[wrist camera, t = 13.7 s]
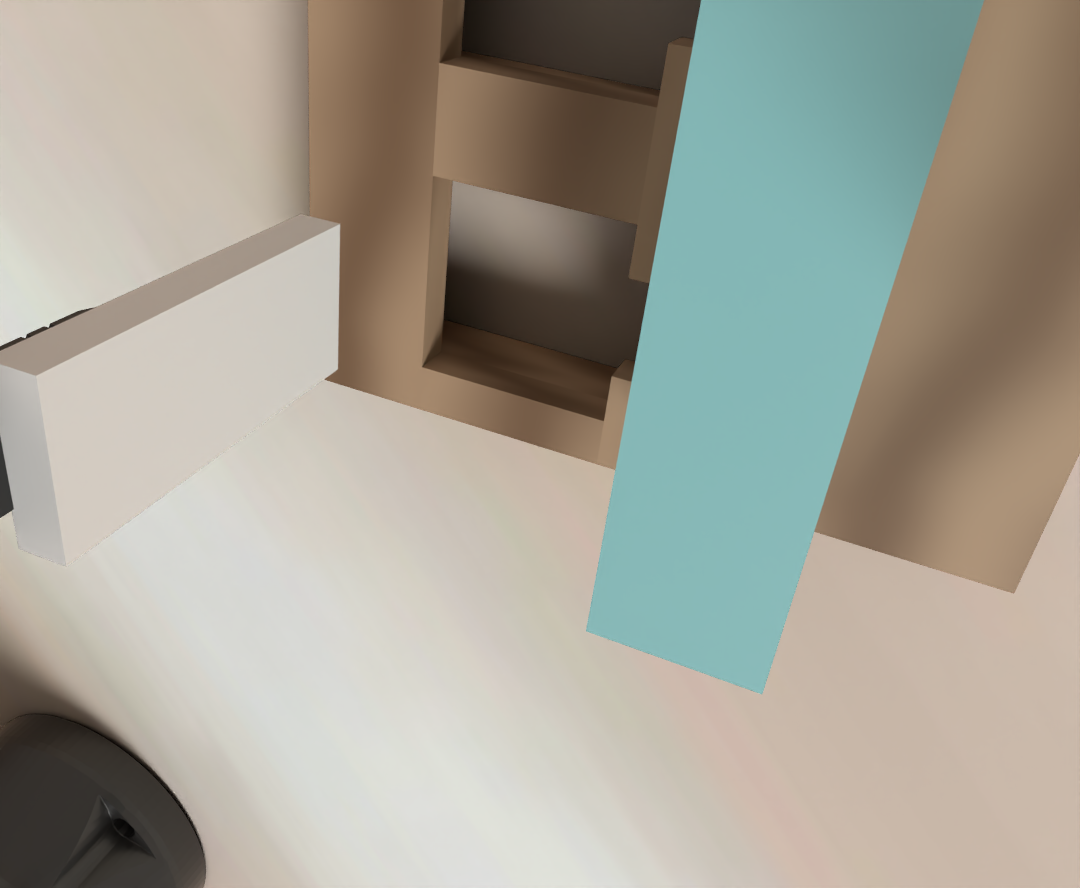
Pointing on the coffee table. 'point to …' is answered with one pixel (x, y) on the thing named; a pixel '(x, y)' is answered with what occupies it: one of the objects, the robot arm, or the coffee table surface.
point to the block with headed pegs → (765, 310)
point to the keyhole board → (638, 197)
